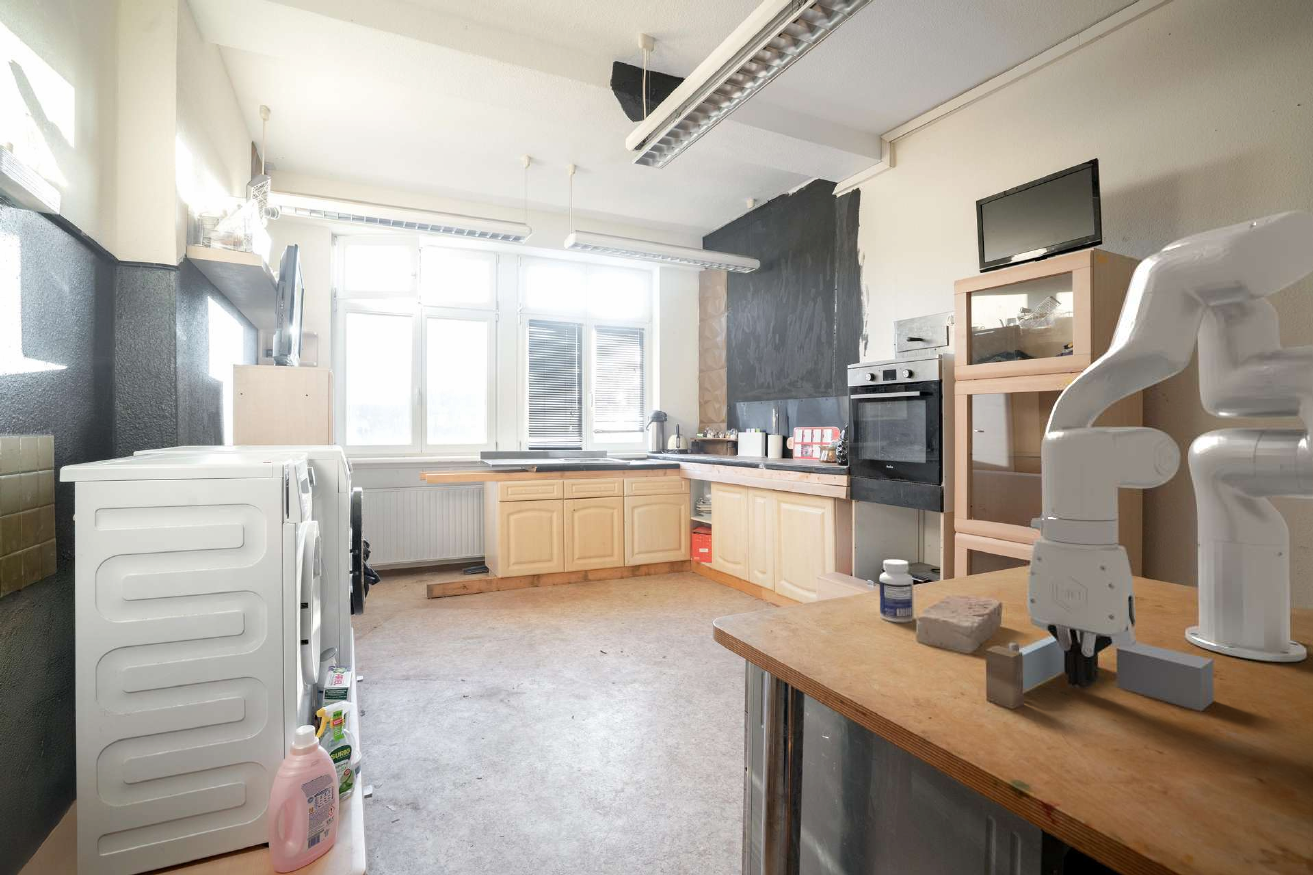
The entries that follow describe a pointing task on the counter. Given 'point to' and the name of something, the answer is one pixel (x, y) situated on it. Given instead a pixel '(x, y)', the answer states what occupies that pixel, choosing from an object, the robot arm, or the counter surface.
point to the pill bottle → (896, 592)
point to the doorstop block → (1166, 675)
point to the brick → (959, 622)
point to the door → (1040, 661)
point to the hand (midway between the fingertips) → (1081, 683)
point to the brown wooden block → (1004, 676)
